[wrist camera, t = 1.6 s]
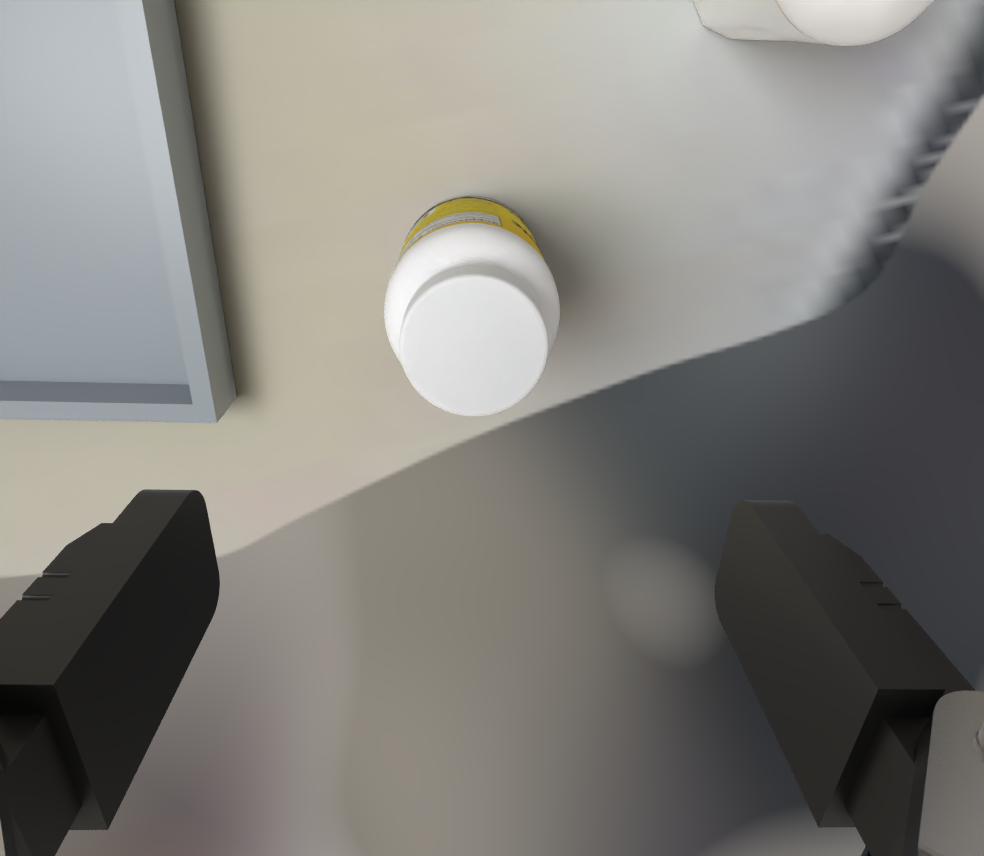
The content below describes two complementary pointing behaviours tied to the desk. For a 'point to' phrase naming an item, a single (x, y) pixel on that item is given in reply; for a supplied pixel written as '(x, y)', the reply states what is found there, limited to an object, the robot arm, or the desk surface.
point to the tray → (104, 221)
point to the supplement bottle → (471, 307)
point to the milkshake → (810, 19)
